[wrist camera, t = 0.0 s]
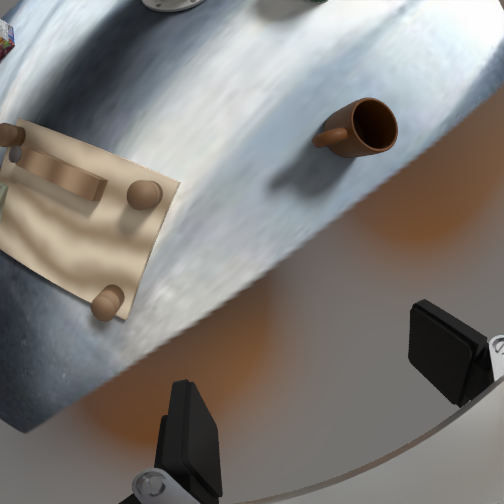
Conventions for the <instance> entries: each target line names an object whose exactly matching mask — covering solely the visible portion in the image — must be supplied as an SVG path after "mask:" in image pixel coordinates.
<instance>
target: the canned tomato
mask: <svg viewBox="0 0 504 504" xmlns="http://www.w3.org/2000/svg"><path fill="white" fill-rule="evenodd" d="M305 1H308V2H312V3H324V2H327V1H328V0H305Z"/></svg>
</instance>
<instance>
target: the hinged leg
mask: <svg viewBox="0 0 504 504" xmlns="http://www.w3.org/2000/svg"><path fill="white" fill-rule="evenodd" d="M9 160H10V162H12V163H16V164H15V165H17V166H19V167H21V168H23V169H25V170H27V171H29V172H31V173H33V174H35V175H37V176H39V177H41V178H43V179H45V180H47V181H49V182H52V183H54V184H56V185H58V186H60V187H62V188H64V189H66V190H68V191H70V192H73V193H75V194H77V195H79V196H81V197H83V198H85V199H87V200H90V201H92V202H93V201H100V200H101V198H102V195H103V192H104V190H105V187H106V185H107V182H108V180H107V179H104V178H102V177H100V176H98V175H95V174H93V173H91V172H88V171H86V170H84V169H82V168H79V167H77V166H75V165H72V164H70V163H68V162H65V161H63V160H61V159H58V158H56V157H54V156H51V155H49V154H47V153H44V152H42V151H40V150H38V149H35V148H33V147H28V146H17V145H15V146H13V147H12V148H11V150H10V152H9Z"/></svg>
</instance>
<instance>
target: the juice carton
mask: <svg viewBox="0 0 504 504" xmlns="http://www.w3.org/2000/svg"><path fill="white" fill-rule="evenodd" d="M14 46H15V43H14V34H13V27H12V26H10V25H9V24H8V23H6V22H5V21H3V20H2V19H0V60H1V59H2V58H3V57H4V56H5V55H6V54H7V53H8V52H9V51H10V50H11V49H12V48H13V47H14Z"/></svg>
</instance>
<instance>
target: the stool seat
mask: <svg viewBox="0 0 504 504" xmlns="http://www.w3.org/2000/svg"><path fill="white" fill-rule="evenodd" d="M15 145H17V146H28V147H33V148H35V149H38V150H40V151H42V152H44V153H47V154H49V155H51V156H54V157H56V158H58V159H61V160H63V161H65V162H68V163H70V164H72V165H75V166H77V167H79V168H82V169H84V170H86V171H88V172H91V173H93V174H95V175H98V176H100V177H102V178H104V179H107V180H108V182H107V185H106V187H105V190H104V192H103V195H102V198H101V200H100V201H93V202H92V201H90V200H87V199H85V198H83V197H81V196H79V195H77V194H75V193H73V192H70V191H68V190H66V189H64V188H62V187H60V186H58V185H56V184H54V183H52V182H49V181H47V180H45V179H43V178H41V177H39V176H37V175H35V174H33V173H31V172H29V171H27V170H25V169H23V168H21V167H19V166H17V165H15V164H16V163H12V162H10V160H9V152H10V150H11V148H12V147H13V146H15ZM0 147H7V150H6V153H5V157H4V160H3V163H2V166H1V170H0V249H1V250H2V251H4V252H5V253H7V254H8V255H10V256H11V257H13V258H14V259H16V260H17V261H19V262H20V263H22V264H23V265H25V266H27V267H28V268H30V269H31V270H33V271H35V272H36V273H38V274H40V275H41V276H43V277H45V278H46V279H48V280H50V281H51V282H53V283H55V284H57V285H58V286H60V287H62V288H64V289H65V290H67V291H69V292H71V293H73V294H75V295H76V296H78V297H80V298H82V299H84V300H86V301H88V302H90V303H91V311H92V313H93V315H94V316H95V317H96V318H97V319H99V320H101V321H110V320H111V319H112V318H113V317H114V315H116V316H118V317H120V318H123V319H125V320H127V318H128V316H129V315H130V312H131V309H132V306H133V302H134V299H135V296H136V293H137V291H138V288H139V285H140V282H141V279H142V276H143V273H144V271H145V268H146V265H147V262H148V260H149V257H150V255H151V252H152V249H153V247H154V244H155V242H156V239H157V237H158V234H159V232H160V229H161V227H162V224H163V222H164V219H165V217H166V215H167V212H168V210H169V208H170V205H171V203H172V201H173V198H174V196H175V194H176V192H177V189H178V187H179V185H180V183H181V182H178V181H176V180H174V179H172V178H169V177H167V176H165V175H162V174H160V173H158V172H155V171H153V170H151V169H148V168H146V167H144V166H141V165H139V164H136V163H134V162H132V161H129V160H127V159H124V158H122V157H120V156H117V155H115V154H112V153H110V152H107V151H105V150H102V149H100V148H97V147H95V146H92V145H90V144H87V143H85V142H82V141H80V140H77V139H75V138H72V137H69V136H67V135H64V134H62V133H59V132H56V131H54V130H51V129H48V128H46V127H43V126H40V125H37V124H35V123H32V122H29V121H26V120H23V119H20V118H18V121H17V123H16V126H15V125H11V124H7V123H1V124H0Z"/></svg>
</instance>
